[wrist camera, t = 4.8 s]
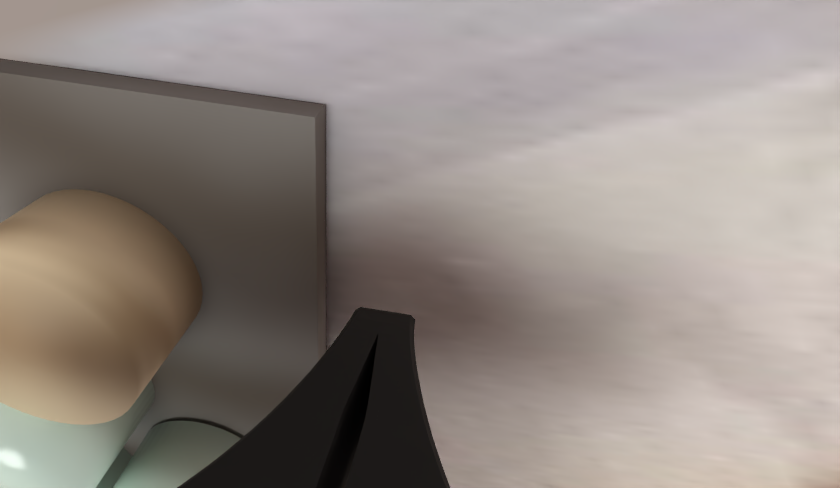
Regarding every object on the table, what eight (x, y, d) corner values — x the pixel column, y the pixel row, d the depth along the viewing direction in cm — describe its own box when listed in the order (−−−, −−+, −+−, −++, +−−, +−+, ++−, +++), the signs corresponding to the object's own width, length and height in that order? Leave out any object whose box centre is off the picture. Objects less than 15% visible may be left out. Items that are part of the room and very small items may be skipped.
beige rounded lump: (213, 348, 15) (156, 439, 12) (53, 322, 15) (-35, 406, 12) (187, 204, 12) (108, 283, 9) (-7, 175, 12) (-136, 245, 10)
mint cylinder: (166, 428, 17) (97, 538, 14) (41, 407, 17) (-53, 511, 14) (138, 334, 15) (49, 443, 12) (-7, 310, 15) (-132, 412, 12)
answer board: (326, 507, 20) (320, 528, 20) (-124, 429, 21) (-144, 447, 20) (325, 104, 11) (315, 117, 10) (-479, -10, 12) (-538, -5, 11)
